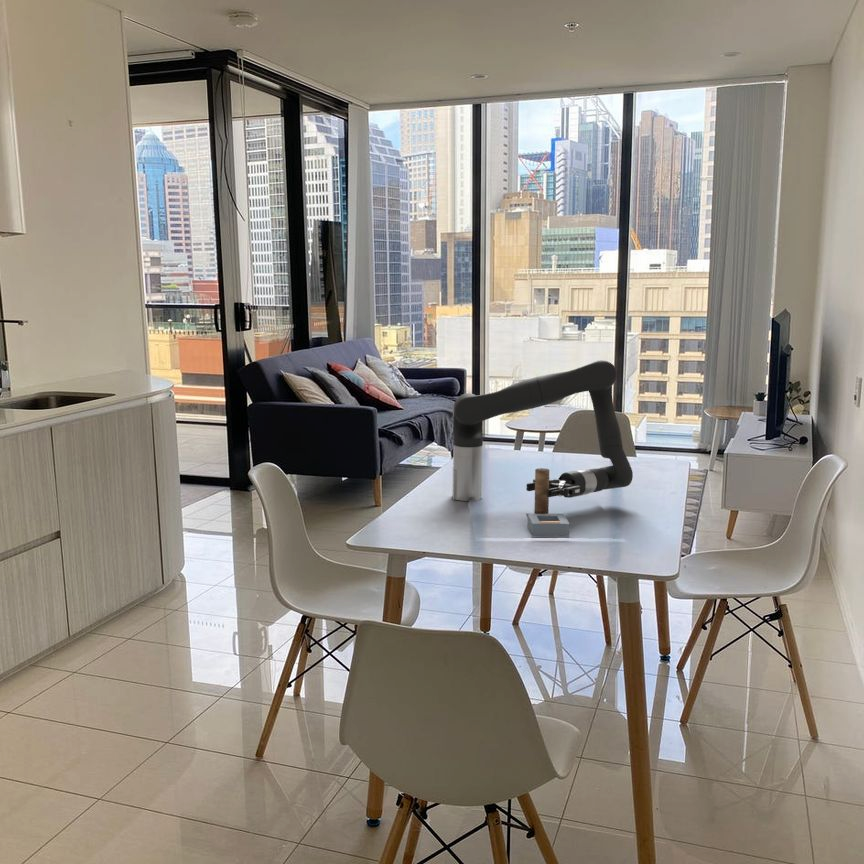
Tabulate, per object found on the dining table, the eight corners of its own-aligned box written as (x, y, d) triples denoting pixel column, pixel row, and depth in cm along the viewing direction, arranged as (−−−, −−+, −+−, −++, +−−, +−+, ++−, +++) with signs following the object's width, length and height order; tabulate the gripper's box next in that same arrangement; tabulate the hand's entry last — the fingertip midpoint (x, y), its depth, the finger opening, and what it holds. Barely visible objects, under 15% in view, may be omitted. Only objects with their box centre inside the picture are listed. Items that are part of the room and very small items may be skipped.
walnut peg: (535, 519, 247) (536, 471, 244) (533, 515, 251) (534, 468, 248) (549, 519, 247) (550, 471, 244) (547, 515, 251) (548, 468, 248)
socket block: (531, 537, 231) (532, 522, 230) (527, 527, 241) (527, 512, 240) (569, 538, 231) (569, 522, 230) (563, 527, 241) (563, 513, 240)
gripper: (561, 466, 261) (521, 473, 251) (595, 475, 249) (555, 482, 240) (560, 490, 262) (520, 498, 253) (594, 500, 251) (554, 508, 241)
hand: (537, 490), depth 246 cm, fingers open, 8 cm apart
